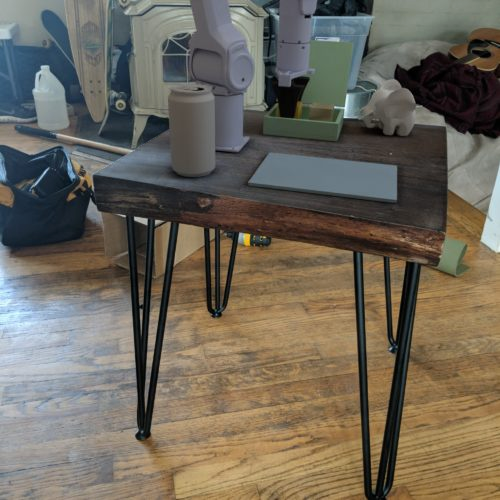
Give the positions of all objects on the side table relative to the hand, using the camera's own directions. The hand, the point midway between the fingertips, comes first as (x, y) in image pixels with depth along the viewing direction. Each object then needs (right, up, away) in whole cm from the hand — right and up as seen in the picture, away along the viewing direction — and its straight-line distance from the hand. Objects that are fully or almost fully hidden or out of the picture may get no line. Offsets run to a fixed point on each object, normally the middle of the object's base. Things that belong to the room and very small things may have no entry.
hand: (289, 119), depth 97 cm
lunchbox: (+3, -2, 0) cm, 3 cm away
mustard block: (0, -1, +1) cm, 1 cm away
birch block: (+6, -2, -1) cm, 6 cm away
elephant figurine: (+18, -2, +1) cm, 19 cm away
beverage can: (-16, -13, -21) cm, 29 cm away
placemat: (+4, -14, -22) cm, 26 cm away
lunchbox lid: (+5, +10, +2) cm, 11 cm away
